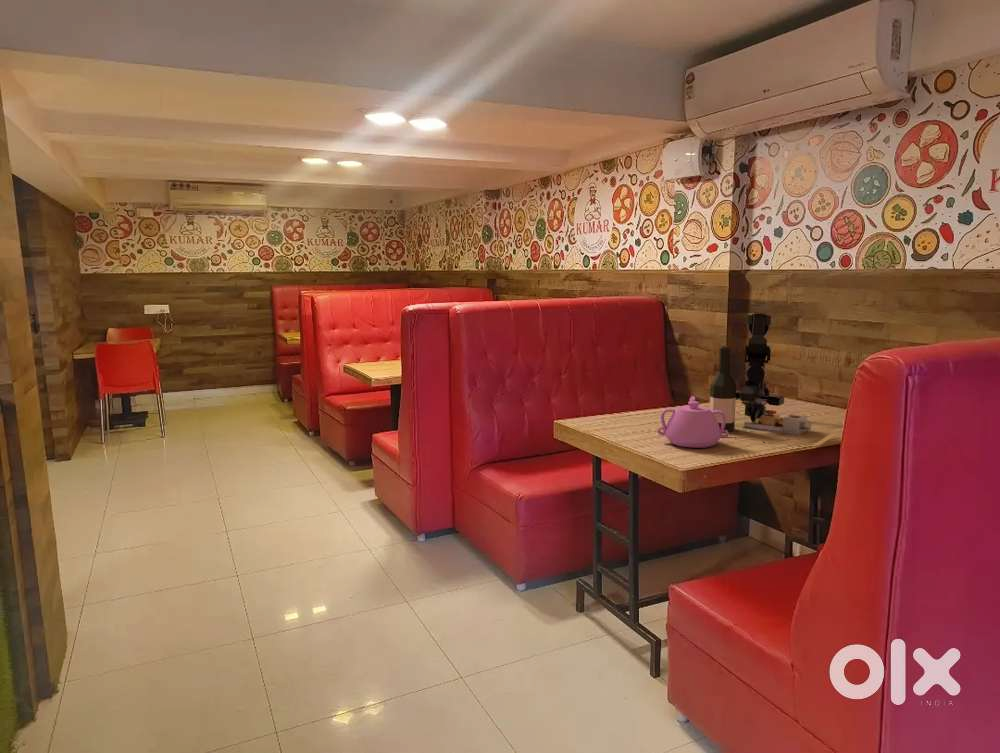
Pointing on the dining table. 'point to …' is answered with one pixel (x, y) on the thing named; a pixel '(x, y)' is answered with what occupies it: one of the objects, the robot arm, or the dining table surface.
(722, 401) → the wine bottle
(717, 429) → the purple lidded pot
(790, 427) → the grey metal channel
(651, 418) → the dining table surface
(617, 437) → the dining table surface
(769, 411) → the valve
